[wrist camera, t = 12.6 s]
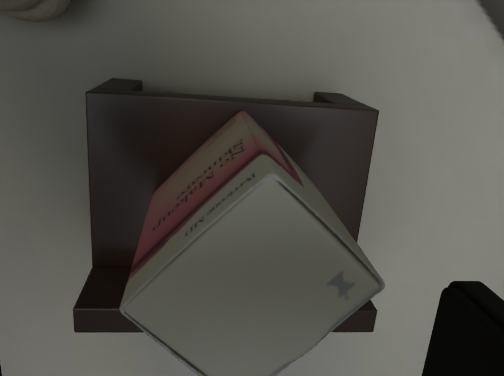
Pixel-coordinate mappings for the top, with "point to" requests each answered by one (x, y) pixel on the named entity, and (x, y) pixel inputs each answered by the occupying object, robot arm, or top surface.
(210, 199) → the small box
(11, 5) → the decorative object
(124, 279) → the shelf
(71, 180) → the top surface
